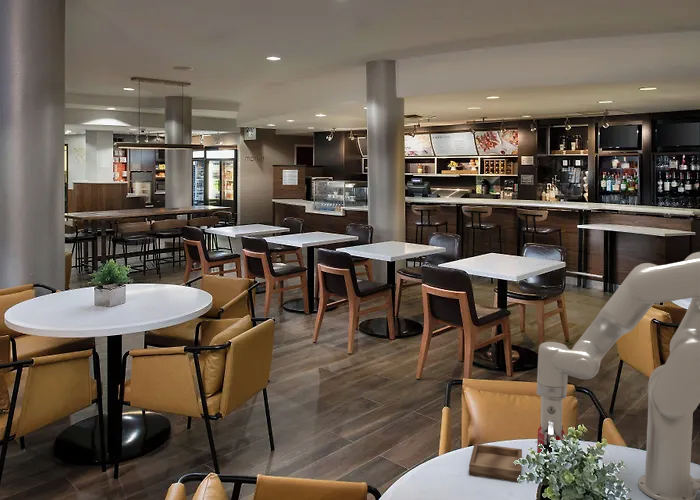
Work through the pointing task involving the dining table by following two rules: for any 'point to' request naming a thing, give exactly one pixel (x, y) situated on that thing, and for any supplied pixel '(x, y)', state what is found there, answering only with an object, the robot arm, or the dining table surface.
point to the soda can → (541, 436)
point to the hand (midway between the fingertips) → (548, 450)
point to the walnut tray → (495, 462)
